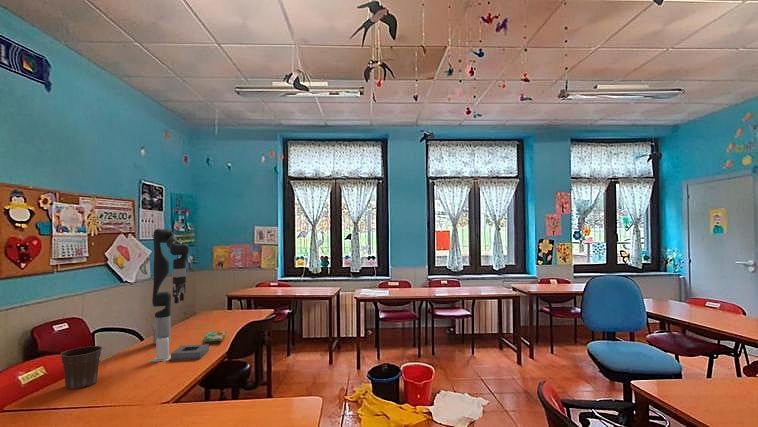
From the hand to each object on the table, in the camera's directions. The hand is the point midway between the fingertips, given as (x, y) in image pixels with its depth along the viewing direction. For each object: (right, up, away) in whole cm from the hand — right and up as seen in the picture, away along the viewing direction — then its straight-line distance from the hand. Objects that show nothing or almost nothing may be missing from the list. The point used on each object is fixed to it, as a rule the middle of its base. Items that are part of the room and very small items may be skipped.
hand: (179, 301), depth 246 cm
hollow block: (+13, -29, -13) cm, 34 cm away
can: (-1, -29, -18) cm, 34 cm away
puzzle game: (+14, -31, +19) cm, 39 cm away
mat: (0, -29, -18) cm, 34 cm away
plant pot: (-19, -28, -56) cm, 65 cm away
